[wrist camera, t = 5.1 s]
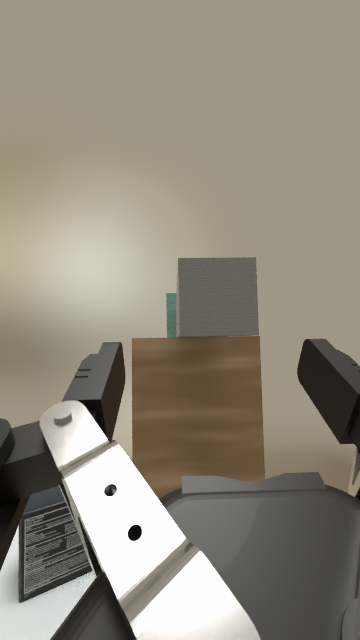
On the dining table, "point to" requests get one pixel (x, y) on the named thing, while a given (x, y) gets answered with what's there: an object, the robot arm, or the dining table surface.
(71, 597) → the dining table surface
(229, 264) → the bar
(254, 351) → the stand
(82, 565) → the small box
